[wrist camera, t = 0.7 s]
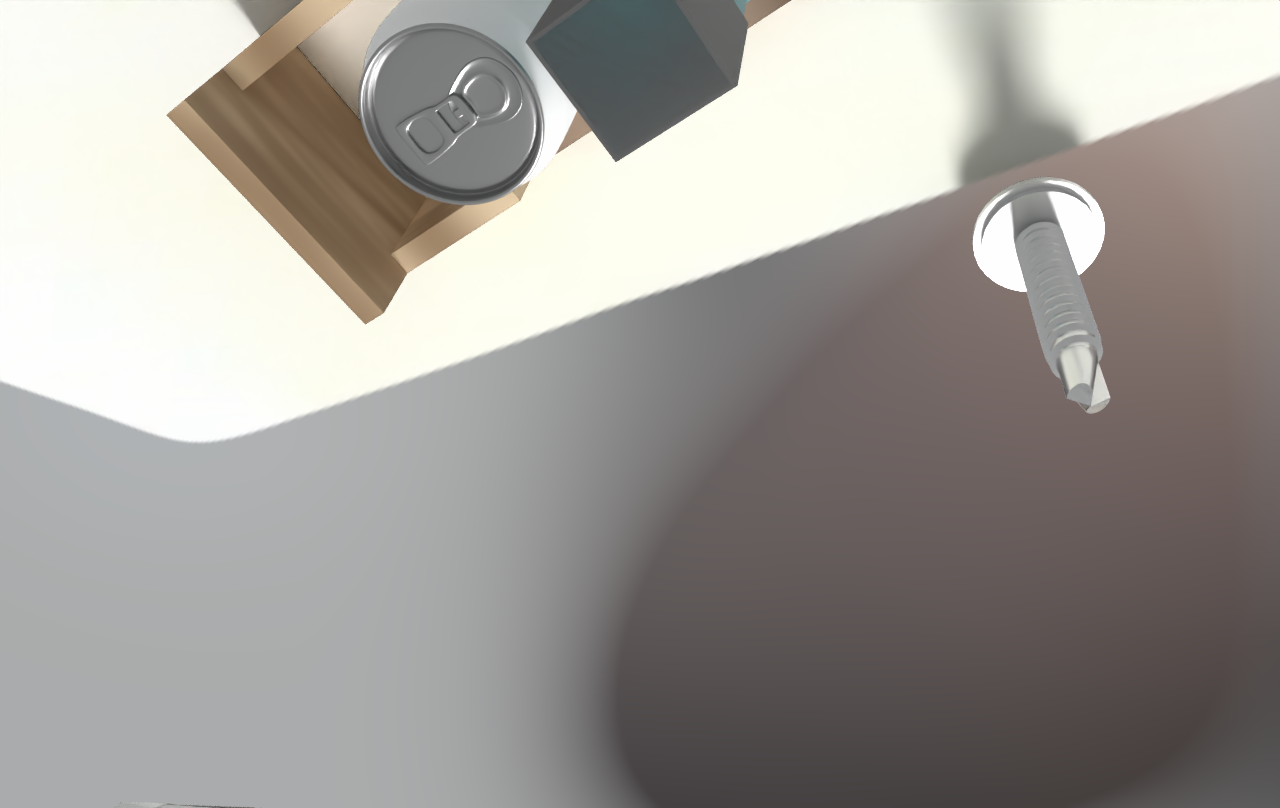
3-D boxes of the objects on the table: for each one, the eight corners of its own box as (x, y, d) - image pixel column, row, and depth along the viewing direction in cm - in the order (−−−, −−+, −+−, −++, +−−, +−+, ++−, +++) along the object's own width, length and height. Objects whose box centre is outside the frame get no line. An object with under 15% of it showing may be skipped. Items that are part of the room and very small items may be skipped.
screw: (971, 160, 44) (1101, 153, 43) (964, 267, 46) (1086, 263, 46) (1015, 343, 33) (1187, 339, 32) (1004, 466, 36) (1162, 465, 35)
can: (653, 20, 42) (602, 152, 33) (524, 108, 45) (442, 253, 35) (549, -134, 39) (459, -39, 30) (418, -30, 42) (299, 87, 33)
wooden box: (662, -303, 36) (627, -276, 29) (821, -36, 40) (820, 38, 34) (260, 37, 45) (166, 115, 38) (425, 226, 49) (365, 324, 42)
